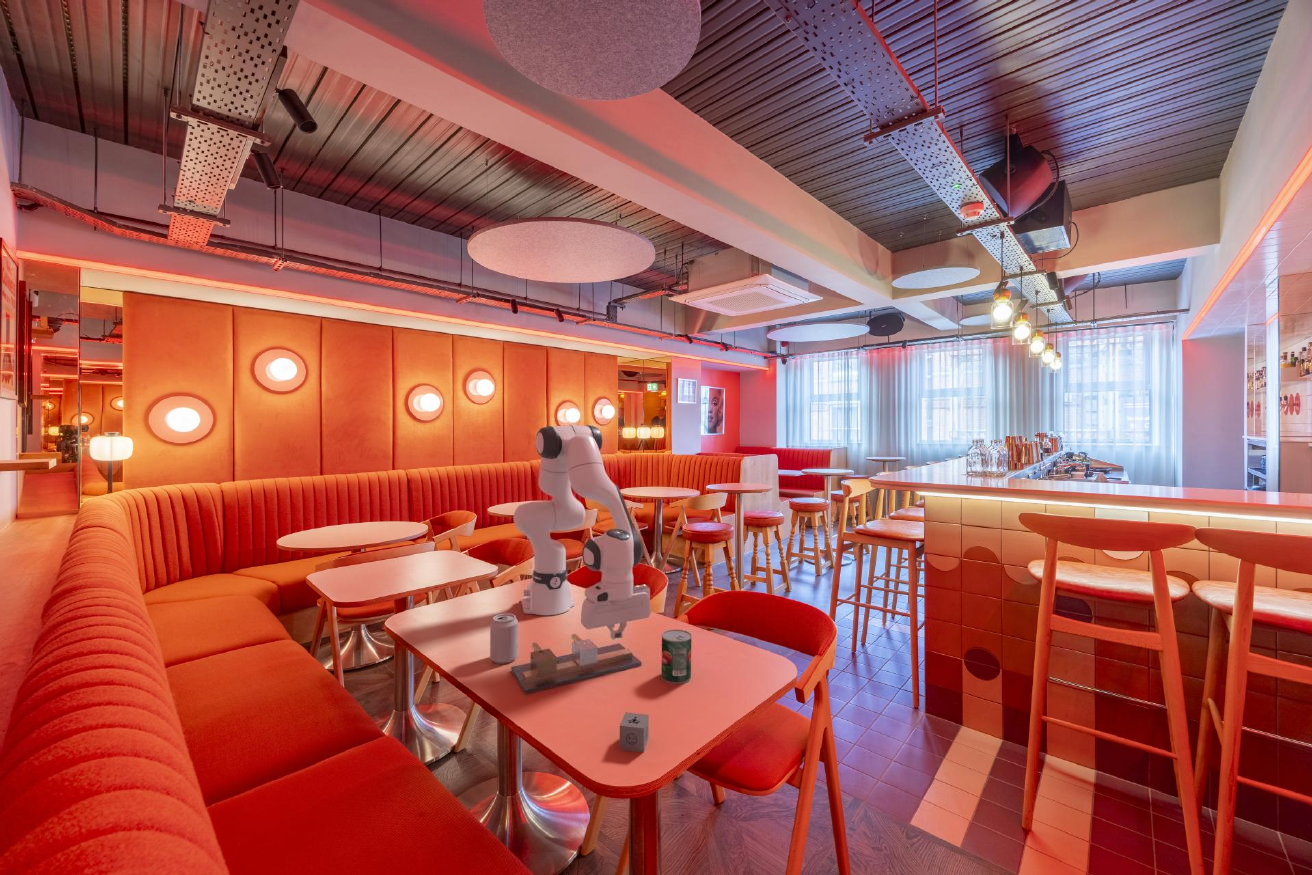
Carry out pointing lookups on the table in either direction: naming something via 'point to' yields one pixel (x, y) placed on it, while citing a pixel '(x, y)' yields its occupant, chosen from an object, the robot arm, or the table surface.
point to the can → (503, 638)
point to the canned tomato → (676, 656)
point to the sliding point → (584, 651)
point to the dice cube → (634, 732)
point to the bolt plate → (574, 674)
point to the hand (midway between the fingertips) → (616, 637)
